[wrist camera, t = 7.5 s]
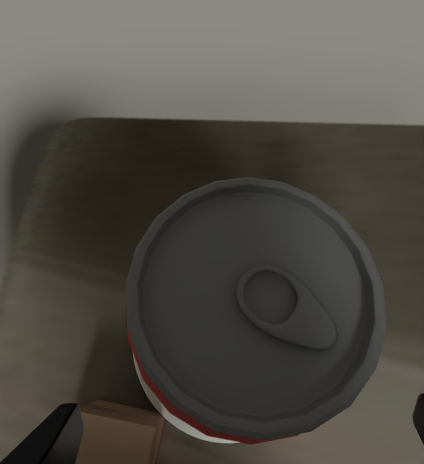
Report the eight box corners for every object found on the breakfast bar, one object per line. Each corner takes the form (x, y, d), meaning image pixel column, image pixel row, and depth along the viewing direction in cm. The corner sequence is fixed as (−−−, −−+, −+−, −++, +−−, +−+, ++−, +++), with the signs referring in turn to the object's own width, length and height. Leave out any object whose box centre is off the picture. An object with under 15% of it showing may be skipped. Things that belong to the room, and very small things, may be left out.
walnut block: (148, 502, 15) (129, 546, 12) (74, 485, 15) (32, 523, 12) (166, 413, 17) (155, 427, 13) (99, 399, 17) (69, 409, 13)
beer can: (241, 427, 15) (321, 589, 4) (146, 347, 17) (29, 318, 6) (302, 321, 18) (459, 253, 7) (213, 259, 19) (219, 119, 8)
